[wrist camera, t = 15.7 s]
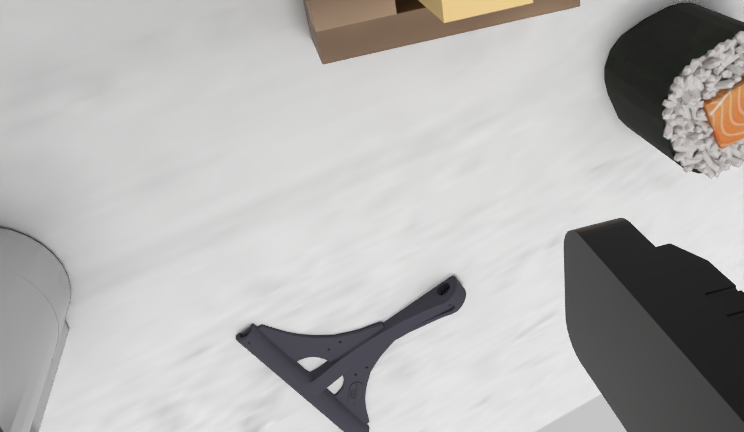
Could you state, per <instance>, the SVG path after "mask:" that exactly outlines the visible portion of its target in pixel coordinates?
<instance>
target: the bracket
mask: <svg viewBox="0 0 744 432" xmlns="http://www.w3.org/2000/svg"><path fill="white" fill-rule="evenodd" d="M448 287H450V289H447V290H446V291H444V292H443V294H442V295H441V296H440V294H441V292H442V291H443V290H444V289H445V288H448ZM465 298H466V291H465V289H464V288H463V286H462V285H461V284H460V283H459V282H458V280H457V279H456V278H455V277H453V276H451V277H450V278H448V279H447V280H445V281H444V282H442V283H441V284H439V285H438V286H437V287H435V288H434V289H432V290H431V291H429V292H428V293H426V294H425V295H423V296H422V297H420V298H419V299H418V300H416V301H415V302H413V303H412V304H410V305H409V306H407V307H406V308H404V309H403V310H402V311H400V312H399V313H397V314H396V315H394V316H393V317H391V318H390V319H388V320H387V321H386V322H384V323H382V322H381V323H378V324H375V325H372V326H369V327H367V328H364V329H361V330H357V331H353V332H349V333H344V334H339V335H304V334H296V333H291V332H286V331H282V330H279V329H275V328H272V327H269V326H266V325H263V324H262V325H260V326H259V327H257V326H256V325H254V324H252V325H251V330H250V332H249V334H248V335H247V336H245V337H244V336H243V335H242V334H241V333H239V334H238V335H236V340H237V341H238V342H239V343H240V344H242V345H243V346H244V347H245V348H246V349H248V350H249V351H250V352H251V353H252V354H253V355H255V356H256V357H257V358H258V359H259V360H260V361H262V362H263V363H264V364H265V365H266V366H267V367H269V368H270V369H271V370H272V371H273V372H275V373H276V374H277V375H278V376H279V377H280V378H282V379H283V380H284V381H285V382H286V383H287V384H289V385H290V386H291V387H292V388H293V389H294V390H296V391H297V392H298V393H299V394H300V395H302V396H303V397H304V398H305V399H306V400H307V401H309V402H310V403H311V404H312V405H313V406H314V407H316V408H317V409H318V410H319V411H320V412H321V413H323V414H324V415H325V416H326V417H327V418H329V419H330V420H331V421H332V422H333V423H334V424H336V425H337V426H338V427H339V428H340V429H341V430H343V431H344V432H369V426H368V425H367V423H369V419H368V415H367V411H366V405H365V393H366V386H367V382H368V379H369V375H370V372H371V370H372V369H373V367H374V365H375V364H376V362H377V361H378V359H379V358H380V356H381V355H382V354H383V353H384V351H385V350H386V349H387V348H388V347H389V346H390V345H391V344H392V343H393V342H394V341H395V340H396V339H398V338H400V337H402V336H403V335H405V334H407V333H409V332H411V331H413V330H415V329H417V328H420V327H422V326H424V325H426V324H428V323H431V322H433V321H435V320H437V319H440V318H442V317H444V316H447V315H450V314H453V313H455V312H457V311H458V310H459V309H460V308H461V306H462V305H463V303H464V301H465ZM307 357H320V358H323V359H326V360H328V361H327V362H326V363H324V364H323V365H321V366H320V367H318V368H317V369H315V370H313V371H311V372H308V371H307V370H305V369H304V368H303V367H302V366H301V365H300V364H298V363H297V361H298V360H301V359H303V358H307ZM342 375H343V376H344V383H343V385H342V387H341V389H340V390H339V391H338V392H337V393H336V394H334V395H333V394H332V393H331V392H330V391H329V390H328V389H327V387H328V386H330V385H331V384H332V383H333V382H335V381H336V380H337V379H338V378H339V377H341V376H342Z"/></svg>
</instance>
